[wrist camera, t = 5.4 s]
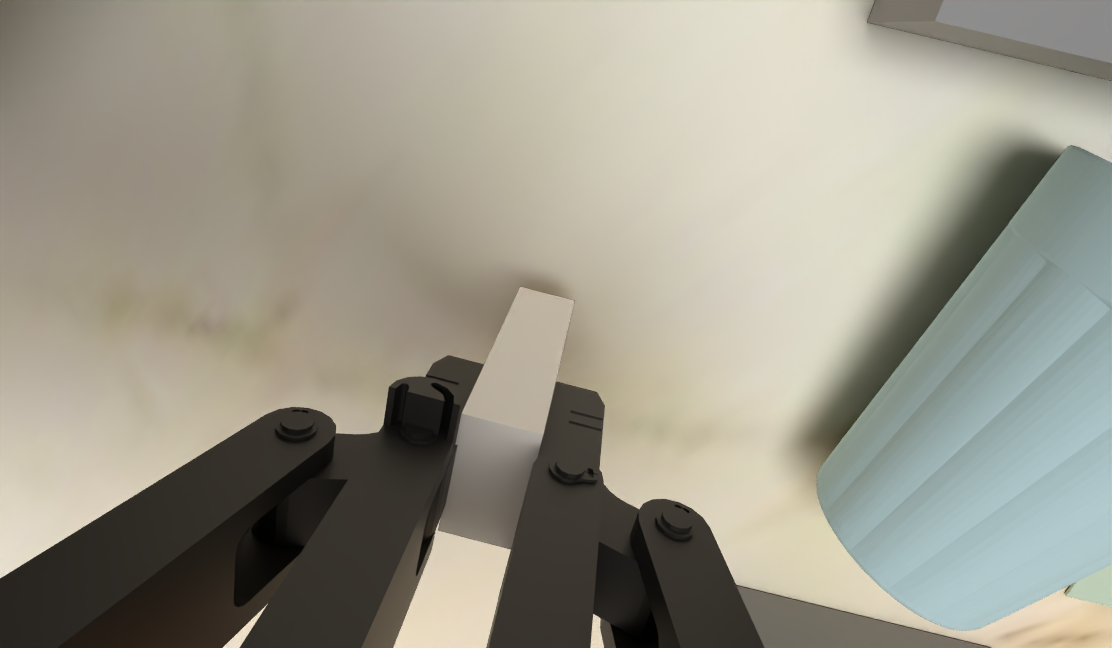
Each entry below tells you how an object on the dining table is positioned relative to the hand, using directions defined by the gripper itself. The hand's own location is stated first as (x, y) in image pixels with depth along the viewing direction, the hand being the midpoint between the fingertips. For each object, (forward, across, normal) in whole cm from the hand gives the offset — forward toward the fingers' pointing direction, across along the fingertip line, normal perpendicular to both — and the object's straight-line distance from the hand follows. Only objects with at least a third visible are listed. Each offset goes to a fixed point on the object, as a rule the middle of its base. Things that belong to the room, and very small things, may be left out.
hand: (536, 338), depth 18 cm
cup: (-1, +7, -1) cm, 8 cm away
